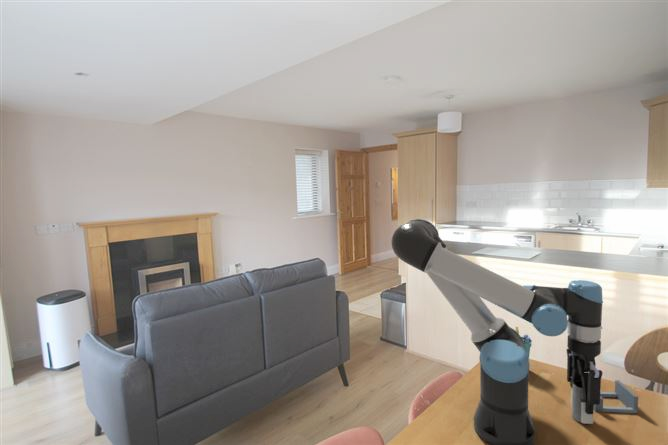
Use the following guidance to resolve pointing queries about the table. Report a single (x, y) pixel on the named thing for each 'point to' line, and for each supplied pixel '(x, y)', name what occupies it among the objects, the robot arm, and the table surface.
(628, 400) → the endcap rail
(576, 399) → the grey tube
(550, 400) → the table surface
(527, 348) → the cup
